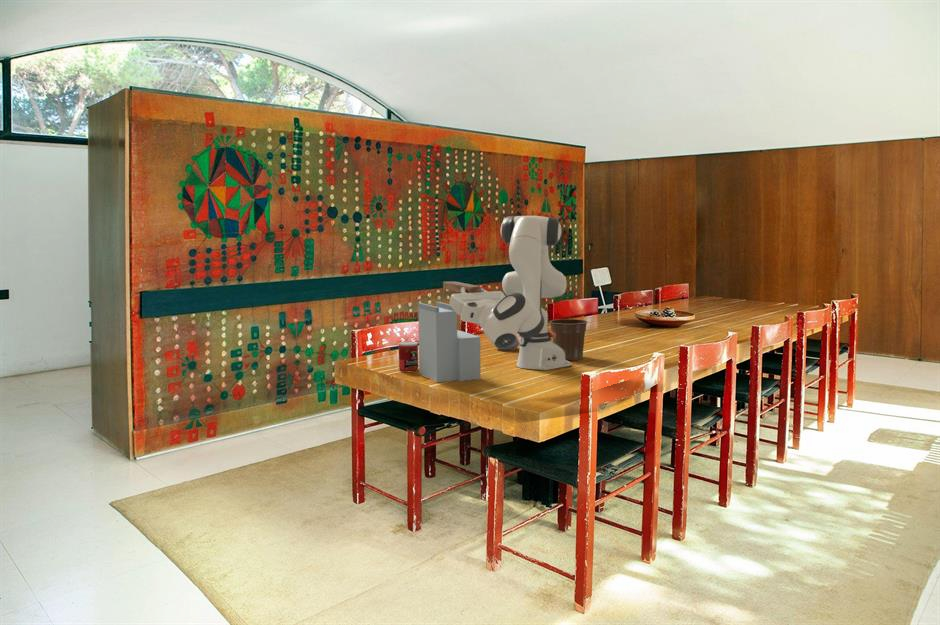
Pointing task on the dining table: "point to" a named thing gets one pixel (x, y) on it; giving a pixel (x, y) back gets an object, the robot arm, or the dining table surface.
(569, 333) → the plant pot
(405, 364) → the canned food
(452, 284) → the brown bar
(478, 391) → the dining table surface
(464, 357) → the step box
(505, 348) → the coffee pot
